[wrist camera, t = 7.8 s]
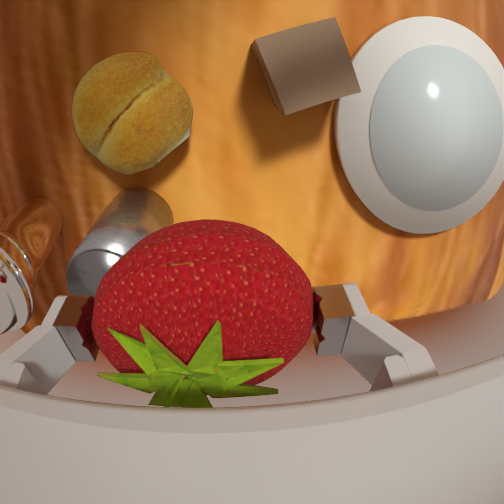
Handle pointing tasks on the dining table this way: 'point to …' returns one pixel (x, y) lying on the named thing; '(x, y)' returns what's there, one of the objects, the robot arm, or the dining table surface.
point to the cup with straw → (24, 258)
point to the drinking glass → (115, 236)
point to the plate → (423, 125)
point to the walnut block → (306, 65)
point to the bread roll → (130, 112)
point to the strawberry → (202, 313)
